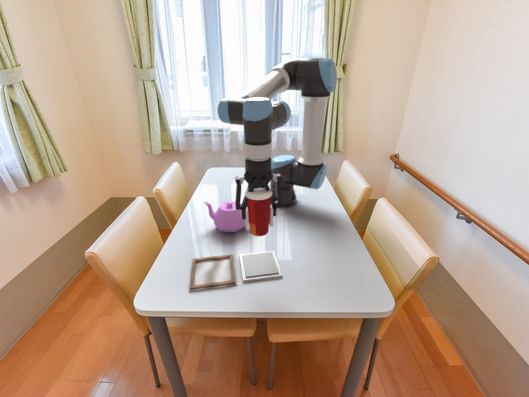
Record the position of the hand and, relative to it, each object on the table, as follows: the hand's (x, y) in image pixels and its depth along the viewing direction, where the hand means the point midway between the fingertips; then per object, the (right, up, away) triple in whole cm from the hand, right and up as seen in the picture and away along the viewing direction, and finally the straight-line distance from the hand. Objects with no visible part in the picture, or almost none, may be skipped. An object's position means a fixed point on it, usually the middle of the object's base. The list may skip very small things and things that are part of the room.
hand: (259, 225), depth 85 cm
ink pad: (0, -15, +8) cm, 17 cm away
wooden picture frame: (-16, -16, +5) cm, 23 cm away
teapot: (-14, -4, +30) cm, 33 cm away
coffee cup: (0, -2, +1) cm, 2 cm away
